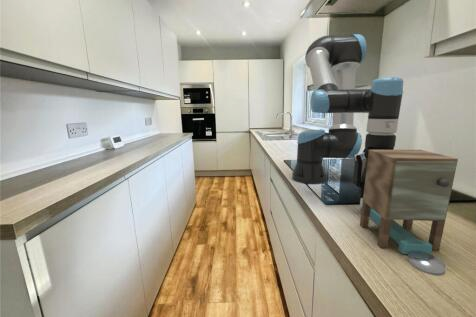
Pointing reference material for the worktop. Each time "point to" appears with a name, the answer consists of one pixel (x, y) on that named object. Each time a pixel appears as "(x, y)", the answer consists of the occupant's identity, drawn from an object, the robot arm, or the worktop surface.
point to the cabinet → (408, 190)
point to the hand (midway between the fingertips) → (371, 207)
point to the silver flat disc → (426, 262)
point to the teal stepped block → (402, 236)
